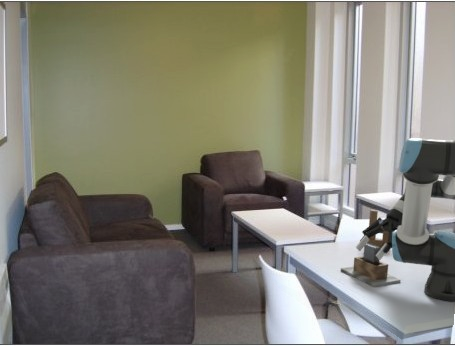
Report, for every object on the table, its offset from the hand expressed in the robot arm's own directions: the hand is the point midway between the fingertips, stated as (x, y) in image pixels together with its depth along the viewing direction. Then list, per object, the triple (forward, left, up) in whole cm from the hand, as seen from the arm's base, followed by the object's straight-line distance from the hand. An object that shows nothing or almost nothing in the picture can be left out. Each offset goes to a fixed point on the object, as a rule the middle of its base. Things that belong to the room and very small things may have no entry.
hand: (367, 253), depth 213 cm
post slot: (-1, -2, -10) cm, 10 cm away
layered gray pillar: (-1, -2, -9) cm, 9 cm away
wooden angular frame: (+31, -36, -10) cm, 48 cm away
